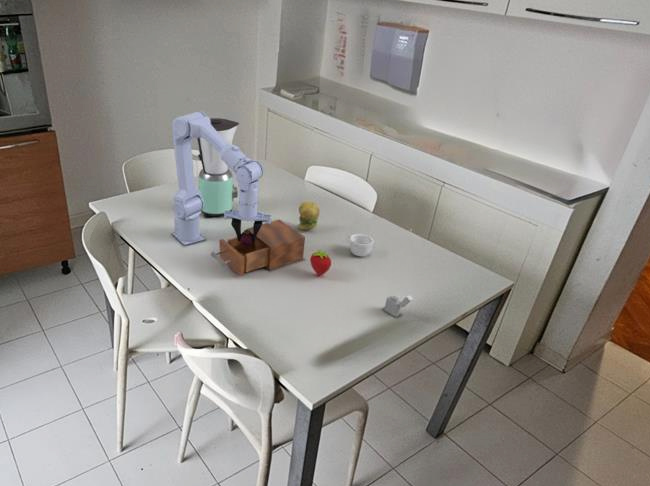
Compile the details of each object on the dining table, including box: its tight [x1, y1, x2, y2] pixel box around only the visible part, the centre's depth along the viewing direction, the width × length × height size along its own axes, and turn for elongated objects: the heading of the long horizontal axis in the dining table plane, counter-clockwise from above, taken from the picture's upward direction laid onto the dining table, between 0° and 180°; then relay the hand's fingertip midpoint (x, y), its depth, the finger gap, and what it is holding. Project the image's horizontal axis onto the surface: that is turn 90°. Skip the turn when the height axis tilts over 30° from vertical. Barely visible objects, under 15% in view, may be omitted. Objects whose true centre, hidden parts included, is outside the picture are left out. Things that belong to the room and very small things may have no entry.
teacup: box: [346, 233, 374, 258], centre depth 178 cm, size 10×8×5 cm
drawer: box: [210, 236, 270, 277], centre depth 167 cm, size 17×13×7 cm
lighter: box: [383, 294, 414, 318], centre depth 148 cm, size 7×2×8 cm, turn 39°
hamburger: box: [297, 201, 321, 231], centre depth 188 cm, size 8×7×12 cm
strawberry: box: [309, 249, 332, 277], centre depth 163 cm, size 6×8×10 cm
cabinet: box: [245, 219, 306, 271], centre depth 174 cm, size 14×14×9 cm
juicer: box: [192, 117, 240, 218], centre depth 193 cm, size 19×13×35 cm
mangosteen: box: [240, 229, 253, 246], centre depth 165 cm, size 4×4×5 cm
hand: (246, 240), depth 166 cm, fingers closed on mangosteen, 4 cm apart
